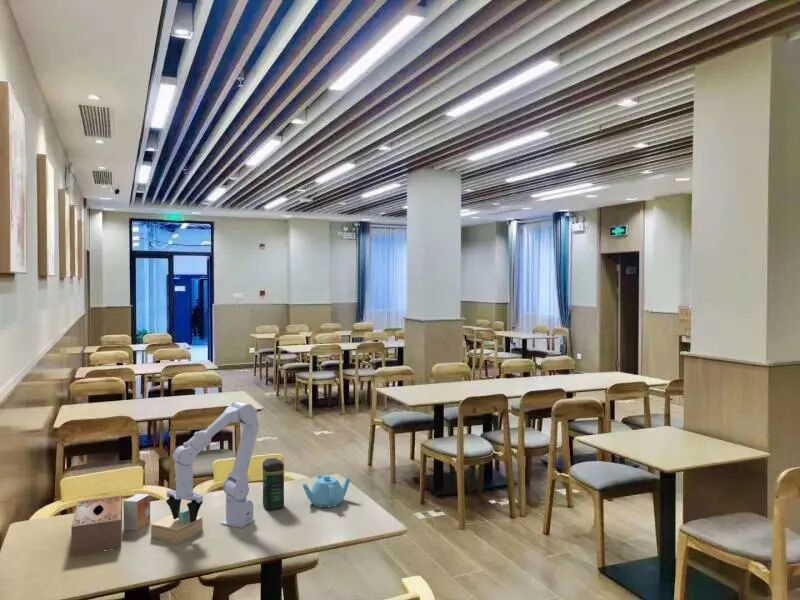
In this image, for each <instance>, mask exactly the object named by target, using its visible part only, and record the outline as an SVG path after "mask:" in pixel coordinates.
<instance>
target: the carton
mask: <svg viewBox="0 0 800 600" xmlns="http://www.w3.org/2000/svg"><path fill="white" fill-rule="evenodd" d="M203 521H204V520H203V518H202V519H201V520H199V521H197V522H195V523H193V524H191V525H189V526H187V527H185V528H183V529H181V530H179V531H174V530H170V529H165V528H160V527H155V526H151V525H150V538H151V539H154V540H158V541H162V542H168V543H173V544H176V545H177V544H178V545H179V543H181V542H184V541H186V540H188V539H190V538H191V537H193V536H195V535H197V534H199V533H201V532H202V531H203V529H204V528H203V525H204V524H203V523H204V522H203ZM189 537H190V538H189Z"/></svg>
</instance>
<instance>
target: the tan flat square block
mask: <svg viewBox="0 0 800 600" xmlns="http://www.w3.org/2000/svg"><path fill="white" fill-rule="evenodd" d="M201 519H203V516H201V515H200V516H198V515H197V518H196V521H194V522H192V523H191V522H190V514H189V509H188V507H187V508H184V509H182V510H180V511H179V518H177V519H173V515H172V514H169V515H167V516H165V517H163V518H161V519H159V520H156V521H155V522H152V523H150V527H151V526H155V527H160V528H165V529H170V530H174V531H179V530H181V529H183V528H185V527H187V526H189V525H191V524H193V523H195V522H197V521H199V520H201Z"/></svg>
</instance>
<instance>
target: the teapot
mask: <svg viewBox="0 0 800 600" xmlns="http://www.w3.org/2000/svg"><path fill="white" fill-rule="evenodd" d="M350 481H351V478H350V477H348V478H347V477H346V478H345V480H344V481H343V483H342V485H341V483H340V482H339V480H338V479H337V478H335V477H331V476H330V475H328V474H326V475H322V474H319V475H317V479H316V481H315V482H314V483H313V485H312V487H311V489H310V488H309V486H308V484H307V483H304V484H302V487H303V489H304V492H305V494H306V497H307V499H308V500H309V502H311V504H312V505H313V504H314V505H313V506H315V505H316V506H315V507H317V506H321V507H320V508H329V507H328V506H333V507H335V506H334V505H337V504H339V505H340V504H341V503H342V502H343V501H344V499H345V496H346V493H347V491H348V488H349V484H350V483H351V482H350ZM337 506H338V505H337Z"/></svg>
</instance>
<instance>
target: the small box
mask: <svg viewBox="0 0 800 600" xmlns="http://www.w3.org/2000/svg"><path fill="white" fill-rule="evenodd" d="M148 524H151V494H148V493H136V494H134V495H132V496H131V497H129V498H127V499H124V500H123V530H124V531H125V530H128V531H138V530H141V529H142V528H143V527H145V526H147V525H148Z"/></svg>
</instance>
